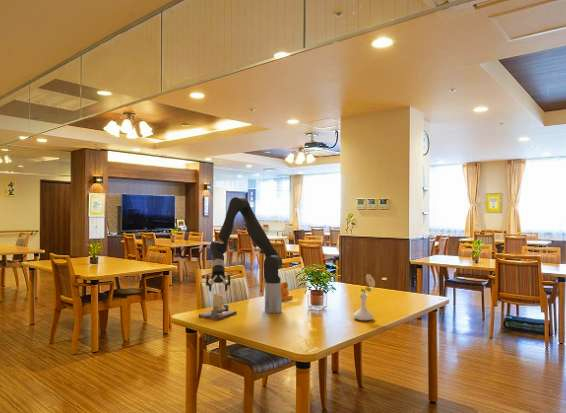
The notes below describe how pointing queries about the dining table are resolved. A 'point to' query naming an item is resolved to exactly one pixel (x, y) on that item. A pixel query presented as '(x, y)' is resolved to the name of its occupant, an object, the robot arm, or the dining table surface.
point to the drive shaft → (225, 307)
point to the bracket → (285, 291)
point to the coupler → (217, 303)
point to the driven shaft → (214, 313)
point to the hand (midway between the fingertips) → (218, 290)
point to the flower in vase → (363, 312)
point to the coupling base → (218, 315)
